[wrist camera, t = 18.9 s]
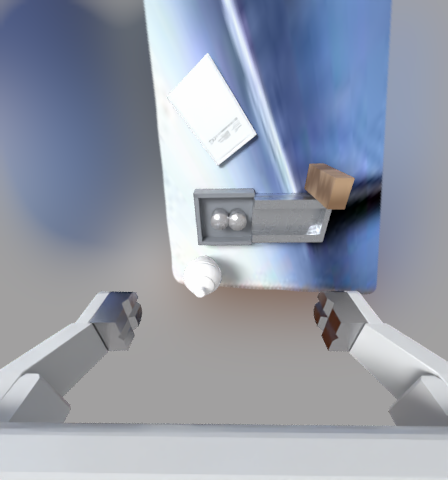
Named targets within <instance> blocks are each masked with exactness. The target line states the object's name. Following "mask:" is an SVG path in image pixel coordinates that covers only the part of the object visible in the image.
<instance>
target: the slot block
mask: <svg viewBox="0 0 448 480" xmlns="http://www.w3.org/2000/svg"><path fill="white" fill-rule="evenodd" d="M331 210H332V209H326V208H325V207H324V206H323V205H322V204H321V203H320V202H319V201H318V200H316V199H315V198H314V197H313V196H312V195H311V194H310V193H262V194H255V197H253V206H252V222H251V239H252V243H272V242H323V238H324V235H325V231H326V228H327V224H328V221H329V217H330V214H331Z"/></svg>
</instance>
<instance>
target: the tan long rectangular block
mask: <svg viewBox="0 0 448 480" xmlns="http://www.w3.org/2000/svg"><path fill="white" fill-rule="evenodd" d="M354 179H355V178H353V177H351V176H349V175H347V174H345V173H343V172H341V171H339V170H336V169H334V168H332V167H330V166H328V165H326V164H309V169H308V174H307V179H306V184H305V190H307V191H308V192H309V193H310V194H311V195H312V196H313V197H314V198H315V199H316V200H318V201H319V202H320V203H321V204H322V205H323V206H324V207H325V208H326V209H345V206H346V203H347V200H348V197H349V194H350V191H351V188H352V185H353V182H354Z"/></svg>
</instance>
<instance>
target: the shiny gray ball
mask: <svg viewBox="0 0 448 480" xmlns="http://www.w3.org/2000/svg"><path fill="white" fill-rule="evenodd" d="M228 223H229V220H228V212H227V211H226V210H225V209H224V208H216V209H215V210H213V212H212V215H211V226H212V227H213V228H214V229H216V230H223V229H225V228H226V227H227V226H228Z"/></svg>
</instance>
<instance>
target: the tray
mask: <svg viewBox="0 0 448 480" xmlns="http://www.w3.org/2000/svg"><path fill="white" fill-rule="evenodd" d="M193 195H194V205H195V215H196V225H197V235H198V245H251V243H252V241H251V222H252V206H253V197H255V192H254V189H253V188H252V189H195V191H194V193H193ZM216 208H224V209H225V210H226V211H227V212H228V216H229V212H230V211H231V210H232V209H235V208H239V209H242V210H243V211H244V212H245V216H246V221H247V224H246V226H245V228H244V229H242V230H239V231H236V230H233V229H231V228H230V226H229V223H228V226H227V227H226V228H225V229H223V230H216V229H214V228H213V227H212V226H211V215H212V212H213V210H215V209H216ZM228 220H229V218H228Z"/></svg>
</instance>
